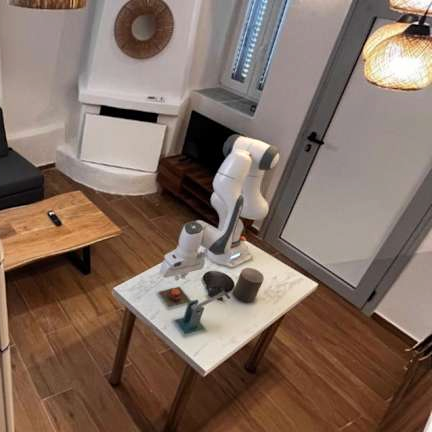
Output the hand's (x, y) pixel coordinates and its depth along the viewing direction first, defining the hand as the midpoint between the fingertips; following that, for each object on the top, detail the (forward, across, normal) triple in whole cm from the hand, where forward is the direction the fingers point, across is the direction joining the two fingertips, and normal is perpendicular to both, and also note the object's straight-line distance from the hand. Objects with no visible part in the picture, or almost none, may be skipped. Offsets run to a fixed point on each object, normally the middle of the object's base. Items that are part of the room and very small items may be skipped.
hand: (179, 278), depth 179 cm
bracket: (+13, +2, +16) cm, 21 cm away
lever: (0, -5, +16) cm, 17 cm away
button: (+10, 0, 0) cm, 10 cm away
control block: (+13, 0, 0) cm, 13 cm away
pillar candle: (+13, -33, +8) cm, 36 cm away
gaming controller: (+13, -20, +3) cm, 24 cm away
